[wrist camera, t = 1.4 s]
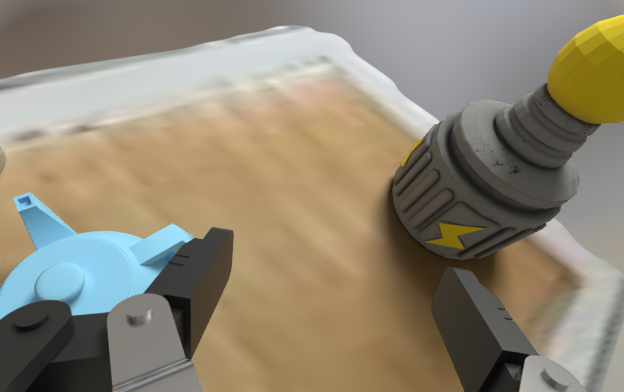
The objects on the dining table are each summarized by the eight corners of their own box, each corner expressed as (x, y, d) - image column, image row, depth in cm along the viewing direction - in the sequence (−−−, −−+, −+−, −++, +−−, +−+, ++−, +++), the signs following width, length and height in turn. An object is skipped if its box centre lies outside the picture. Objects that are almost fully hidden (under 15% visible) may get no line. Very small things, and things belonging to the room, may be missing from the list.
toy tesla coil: (407, 144, 54) (564, -58, 29) (500, 200, 52) (748, 36, 28) (368, 218, 43) (563, -2, 19) (484, 291, 42) (864, 157, 17)
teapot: (163, 414, 27) (135, 429, 18) (-38, 405, 24) (-189, 417, 15) (205, 252, 35) (201, 207, 26) (61, 232, 32) (1, 174, 23)
